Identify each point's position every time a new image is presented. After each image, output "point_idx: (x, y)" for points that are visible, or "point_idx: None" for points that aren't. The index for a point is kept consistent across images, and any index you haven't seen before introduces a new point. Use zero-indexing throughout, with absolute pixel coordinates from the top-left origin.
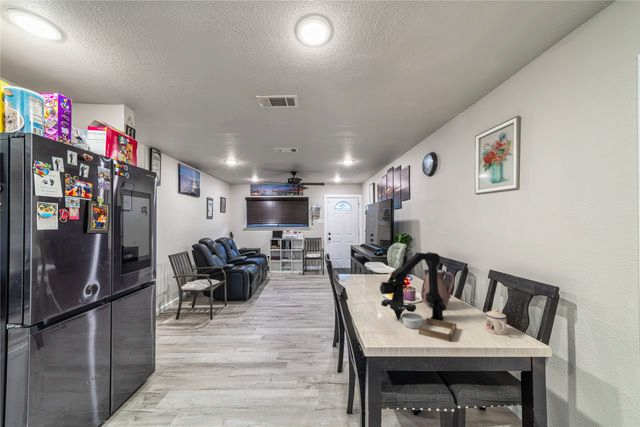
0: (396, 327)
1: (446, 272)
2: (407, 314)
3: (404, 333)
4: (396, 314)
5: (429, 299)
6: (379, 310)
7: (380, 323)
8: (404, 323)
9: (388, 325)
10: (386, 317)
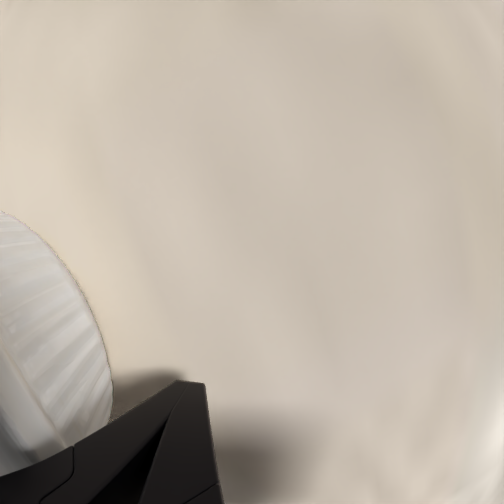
0: (150, 104)
1: None
2: (7, 471)
3: (27, 22)
4: (183, 484)
5: None
6: (483, 487)
7: (488, 133)
8: (11, 238)
9: (336, 101)
10: (438, 429)
